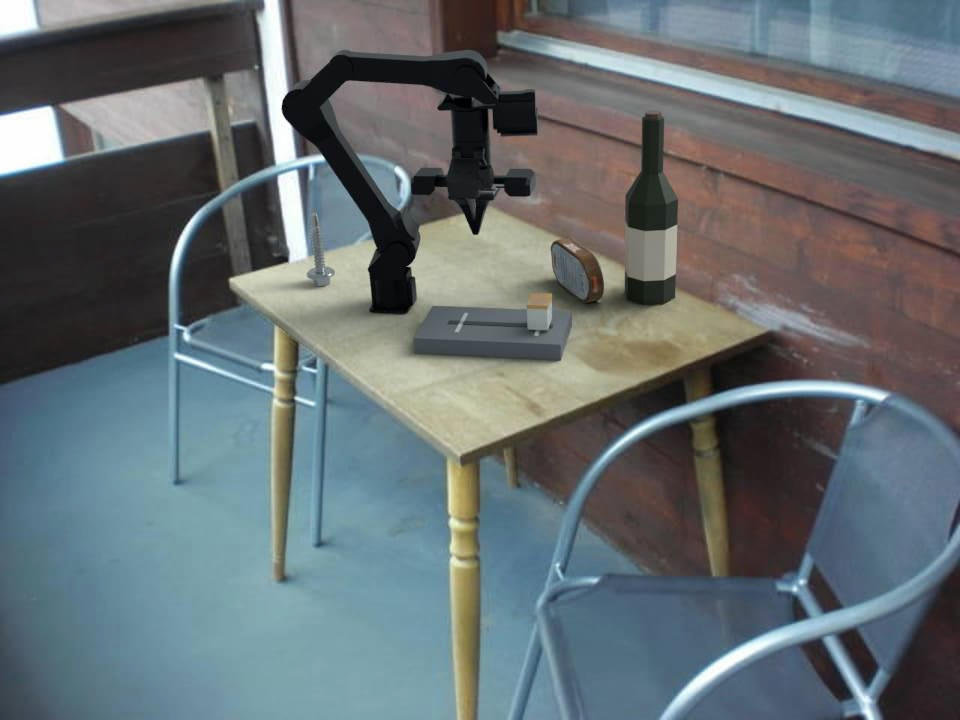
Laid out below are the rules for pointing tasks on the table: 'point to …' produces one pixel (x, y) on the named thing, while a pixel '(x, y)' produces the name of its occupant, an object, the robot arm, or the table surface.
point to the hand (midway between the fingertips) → (476, 234)
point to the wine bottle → (651, 223)
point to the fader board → (491, 333)
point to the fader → (539, 311)
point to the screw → (318, 256)
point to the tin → (577, 270)
